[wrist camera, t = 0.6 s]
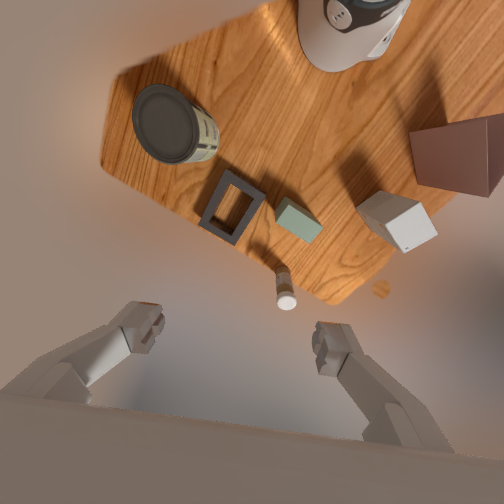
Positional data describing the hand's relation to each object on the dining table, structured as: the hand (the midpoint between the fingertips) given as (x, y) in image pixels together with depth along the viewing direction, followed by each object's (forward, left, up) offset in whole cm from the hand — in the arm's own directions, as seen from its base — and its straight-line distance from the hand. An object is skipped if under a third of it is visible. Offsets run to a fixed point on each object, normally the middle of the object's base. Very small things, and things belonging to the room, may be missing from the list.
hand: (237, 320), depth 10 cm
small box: (-11, +26, -40) cm, 49 cm away
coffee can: (-2, -19, -40) cm, 44 cm away
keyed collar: (+7, -4, -40) cm, 41 cm away
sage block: (0, +10, -40) cm, 41 cm away
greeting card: (-24, +24, -40) cm, 52 cm away
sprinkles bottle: (+16, +18, -40) cm, 47 cm away
